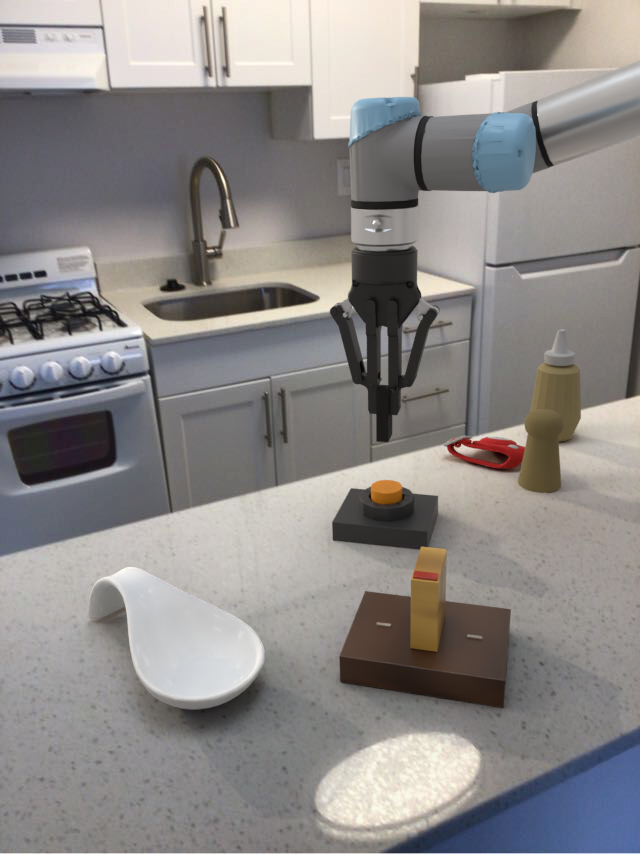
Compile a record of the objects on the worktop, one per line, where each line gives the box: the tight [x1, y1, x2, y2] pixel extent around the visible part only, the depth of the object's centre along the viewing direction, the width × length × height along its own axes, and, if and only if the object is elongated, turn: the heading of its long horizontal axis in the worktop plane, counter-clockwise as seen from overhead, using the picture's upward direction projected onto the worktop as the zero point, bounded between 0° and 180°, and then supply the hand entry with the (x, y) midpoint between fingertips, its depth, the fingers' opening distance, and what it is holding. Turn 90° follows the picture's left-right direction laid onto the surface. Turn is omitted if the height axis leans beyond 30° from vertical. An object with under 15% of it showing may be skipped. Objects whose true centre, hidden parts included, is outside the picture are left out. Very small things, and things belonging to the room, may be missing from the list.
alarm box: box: [331, 486, 439, 551], centre depth 98 cm, size 12×10×4 cm
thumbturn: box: [410, 546, 448, 652], centre depth 72 cm, size 6×2×8 cm, turn 164°
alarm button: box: [370, 479, 403, 504], centre depth 97 cm, size 4×4×2 cm
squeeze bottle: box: [529, 328, 582, 443], centre depth 122 cm, size 8×8×18 cm
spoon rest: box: [87, 566, 266, 710], centre depth 74 cm, size 24×12×7 cm, turn 46°
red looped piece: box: [443, 434, 525, 470], centre depth 116 cm, size 12×4×10 cm
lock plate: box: [338, 590, 512, 709], centre depth 74 cm, size 15×11×3 cm
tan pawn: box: [517, 409, 563, 494], centre depth 107 cm, size 6×6×11 cm
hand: (384, 437), depth 94 cm, fingers closed
